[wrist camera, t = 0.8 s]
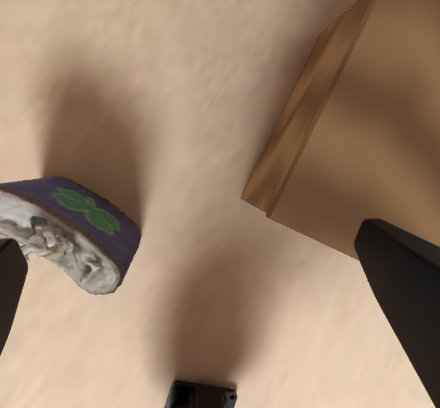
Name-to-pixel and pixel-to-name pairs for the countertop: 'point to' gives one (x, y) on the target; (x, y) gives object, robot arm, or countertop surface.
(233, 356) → the countertop surface
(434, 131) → the recipe box
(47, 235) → the flask
